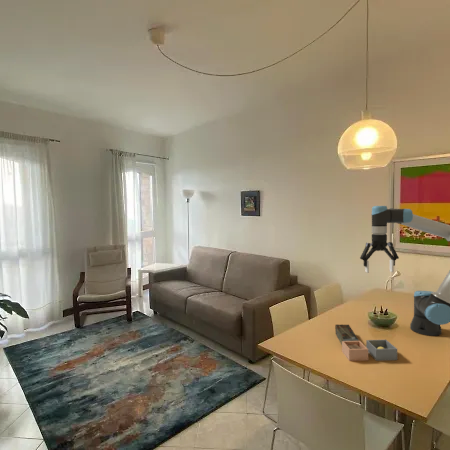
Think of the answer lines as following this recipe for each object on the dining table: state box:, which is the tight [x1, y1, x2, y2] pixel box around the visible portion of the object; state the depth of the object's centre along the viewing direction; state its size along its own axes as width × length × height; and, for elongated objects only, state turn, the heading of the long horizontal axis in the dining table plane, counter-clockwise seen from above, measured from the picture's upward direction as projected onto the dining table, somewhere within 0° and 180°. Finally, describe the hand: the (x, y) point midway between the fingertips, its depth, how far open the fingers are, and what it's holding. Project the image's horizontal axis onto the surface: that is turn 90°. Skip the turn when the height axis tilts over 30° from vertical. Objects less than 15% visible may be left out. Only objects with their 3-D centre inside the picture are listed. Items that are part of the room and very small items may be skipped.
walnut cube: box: [348, 344, 362, 349], centre depth 148 cm, size 4×4×4 cm
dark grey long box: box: [334, 324, 359, 346], centre depth 165 cm, size 8×19×7 cm, turn 172°
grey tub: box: [365, 339, 398, 362], centre depth 148 cm, size 10×10×6 cm
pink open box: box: [341, 340, 369, 362], centre depth 148 cm, size 9×9×6 cm
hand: (379, 271), depth 168 cm, fingers open, 13 cm apart
